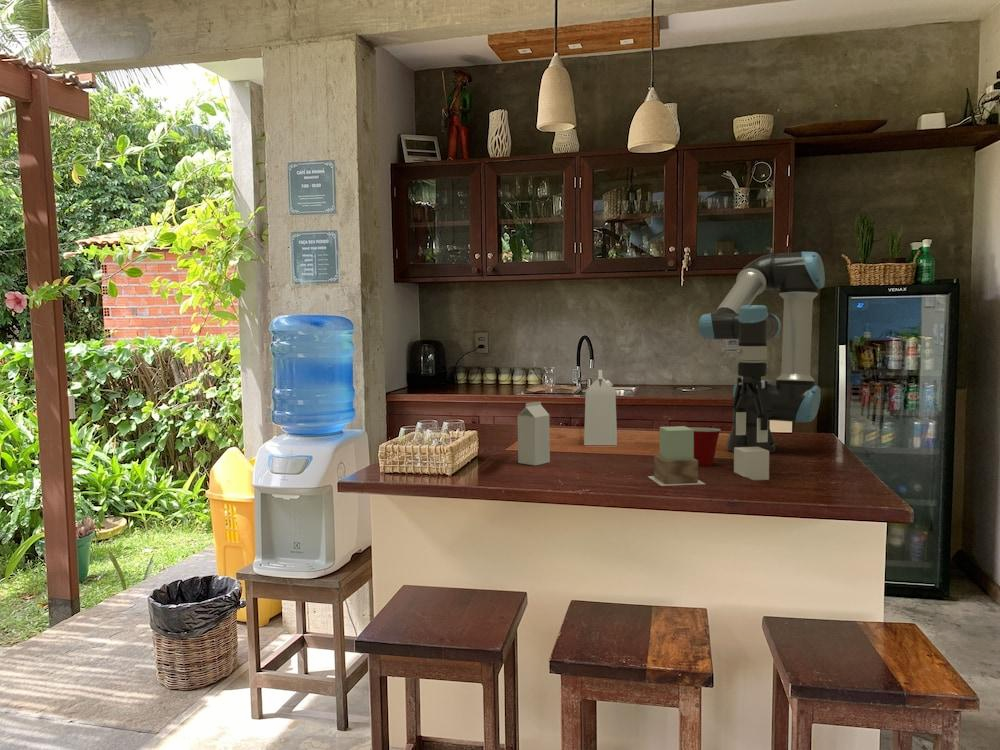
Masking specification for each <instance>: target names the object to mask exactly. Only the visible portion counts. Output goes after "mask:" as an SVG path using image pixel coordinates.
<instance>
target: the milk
mask: <svg viewBox="0 0 1000 750" xmlns="http://www.w3.org/2000/svg"><path fill="white" fill-rule="evenodd" d="M613 386H614V384H613V383H612V382H611V381H610V380H609V379H607V380H606V379H605V378H604V377H603V369H598V377H597V379H595V381H594V382H593V383H592V384H591V385H589V386H588V387H587V389H586V390H585V398H584V399H585V401H584V402H585V405H584V406H585V407H584V435H583V437H584V438H583V446H584V445H617V446H618V433H617V432H618V431H617V430H618V428H617V424H618V423H617V403H616V402H617V397H616V396H617V395H616V389H615V388H614V387H613Z"/></svg>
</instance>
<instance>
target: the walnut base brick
mask: <svg viewBox="0 0 1000 750" xmlns="http://www.w3.org/2000/svg"><path fill="white" fill-rule="evenodd" d="M653 458H654V460H653V461H654V463H653V464H654V465H653V470H654V471H653V472H654V473H653V476H654V477H655V478H656V479H658V480H659V481H661V482H662V483H664V484H684V483H698V480H699V466H698V460H696V459H694V460H677V461H667V460H666V459H664V458H662V457H660V454H658V455H657V454H656V455H654V457H653Z"/></svg>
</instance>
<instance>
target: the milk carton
mask: <svg viewBox="0 0 1000 750" xmlns="http://www.w3.org/2000/svg"><path fill="white" fill-rule="evenodd" d="M550 438H551V436H550V414H549V413H548V411H547V410H546V409H545V408H544V407H543V405H542V401H534V402H533V401H532V402H526V403H525V407H524V408H523V409H522V410H521V411H520V412H519V413H518V414H517V463H518V464H523V465H529V466H541V465H544V464H548V463H550V462H551V447H550V446H551V443H550V441H551V440H550Z"/></svg>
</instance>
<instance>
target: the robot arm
mask: <svg viewBox="0 0 1000 750" xmlns="http://www.w3.org/2000/svg"><path fill="white" fill-rule="evenodd" d="M823 262H824V261H823V260H822V256H820V254H819V253H818V252H815V251H796V252H794V251H793V252H783V253H769V254H764V255H762V256H759V257H758V258H755V259H754V260H752V261H751V262H749V263H747V264H746V265H745V266H744V267H743V268H742V269H741V270H740V271H739V272H738V273H737V276H736V279H735V283H734V285H733V286H732V288H731V289H730V290H729V292H728V293H727V295H726V296H725V297H724V299H723V300H722V302H720V304H719V306H718V307H717V309H716V310H715V311H714V312H713V313H711V312H709V313H704V314H702V315H701V316H700V318H699V321H698V332H699V335H700V337H701V338H702V339H705V340H738V344H737V346H738V349H737V350H736V352H737V356H738V357H737V358H738V359H737V360H738V361H740V362H738V363H737V375H738V376H739V377H738V378H737V380H736V381H737V382H736V383H735V385H734V386H733V388H732V389H733V390H732V392H733V393H732V405H731V407H732V429H731V432H730V434H729V436H728V439H727V444H726V450H727V449H728V450H727V451H729V450H730V451H729V452H731V453H734V448H735V447H760V448H763V449H765V450H768V451H769V454H772V453H774V452H776V443H775V439H774V437H773V434H772V431H771V428H770V427H771V425H770V422H771V421H778V422H779V421H780V422H791V423H792V422H793V423H794V422H795V423H810V422H812V421H814V420H815V418H816V416H817V415H818V412H819V408H820V404H821V391H822V390H821V388H820V386H818V385H816V381H815V379H814V378H813V377H812V376H811V359H812V358H811V354H812V333H813V332H812V331H813V326H812V325H813V308H814V307H813V305H814V304H813V303H814V302H813V301H814V299H815V298H816V297H817V296H818V295H819V289H820V290H821V289H823V288H824V287H825V282H826V276H825V268H824V263H823ZM769 290H770V291H771V290H778V291H779V292H778V293H779V296H780V297H781V298H782V299H783V317H782V318H783V320H782V322H781V320H780V319H779V317H778V316H777V315H775V314H773V313H771V312H768V307H767V306H766V305H762V304H761V305H760V304H759V305H758V304H757V305H755V304H754V305H752V303H753V302H754V300H755V299H756V297H757V296H759V295H760V294H762V293H763V292H764V291H769ZM781 323H783V324H781ZM781 328H782V342H781V343H782V346H781V347H782V349H781V373H780V375H779V376H778V377H777V378H775V379H776V380H775V384H772V382H771V380H770V379H762V377H765V376H767V374H768V373H767V365H768V364H767V363H766V362H765V361H767V360H768V341H769V340H771V339H774V338H775V337H777V336H778V334H780V332H781Z"/></svg>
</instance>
